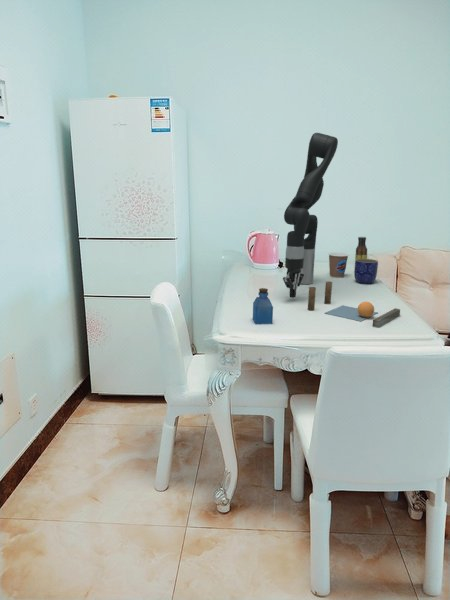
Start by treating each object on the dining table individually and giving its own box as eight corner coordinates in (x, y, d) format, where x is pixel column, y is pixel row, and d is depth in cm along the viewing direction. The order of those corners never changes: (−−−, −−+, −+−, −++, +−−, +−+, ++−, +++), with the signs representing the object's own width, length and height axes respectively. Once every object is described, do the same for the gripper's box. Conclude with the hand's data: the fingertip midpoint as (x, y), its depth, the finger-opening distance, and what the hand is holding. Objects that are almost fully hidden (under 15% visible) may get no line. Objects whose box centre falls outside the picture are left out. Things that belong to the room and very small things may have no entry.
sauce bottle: (366, 272, 255) (369, 236, 250) (365, 274, 250) (369, 238, 245) (354, 271, 258) (357, 236, 252) (353, 273, 252) (356, 237, 247)
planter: (379, 282, 232) (382, 260, 229) (369, 286, 224) (372, 263, 221) (359, 279, 239) (361, 257, 236) (349, 282, 231) (351, 260, 228)
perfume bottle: (252, 319, 170) (253, 287, 167) (269, 318, 171) (270, 287, 168) (255, 324, 164) (256, 291, 161) (272, 323, 165) (273, 291, 162)
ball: (362, 322, 172) (351, 309, 173) (368, 318, 176) (358, 307, 178) (373, 312, 168) (362, 299, 170) (379, 309, 173) (369, 297, 175)
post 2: (323, 303, 192) (324, 282, 190) (326, 302, 194) (327, 281, 192) (328, 304, 191) (330, 283, 188) (331, 303, 192) (333, 282, 190)
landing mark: (324, 313, 178) (324, 312, 178) (342, 305, 189) (342, 305, 189) (360, 321, 168) (360, 321, 168) (378, 313, 179) (378, 312, 179)
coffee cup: (335, 279, 238) (337, 256, 235) (322, 275, 247) (324, 253, 243) (351, 277, 242) (352, 254, 239) (337, 273, 251) (339, 252, 248)
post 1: (306, 309, 183) (307, 287, 180) (309, 308, 185) (311, 286, 182) (312, 310, 181) (313, 288, 179) (315, 309, 183) (317, 287, 181)
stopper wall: (372, 326, 163) (373, 319, 163) (394, 314, 178) (395, 308, 177) (377, 327, 162) (378, 320, 161) (399, 315, 177) (400, 309, 176)
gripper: (295, 253, 198) (293, 292, 203) (278, 257, 188) (276, 298, 193) (310, 255, 193) (308, 295, 198) (293, 259, 184) (291, 301, 188)
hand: (292, 297), depth 195 cm, fingers closed
